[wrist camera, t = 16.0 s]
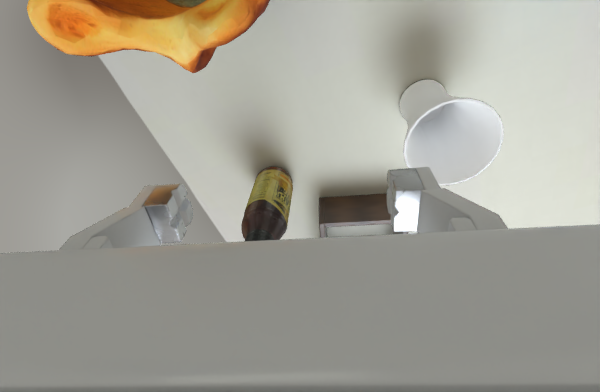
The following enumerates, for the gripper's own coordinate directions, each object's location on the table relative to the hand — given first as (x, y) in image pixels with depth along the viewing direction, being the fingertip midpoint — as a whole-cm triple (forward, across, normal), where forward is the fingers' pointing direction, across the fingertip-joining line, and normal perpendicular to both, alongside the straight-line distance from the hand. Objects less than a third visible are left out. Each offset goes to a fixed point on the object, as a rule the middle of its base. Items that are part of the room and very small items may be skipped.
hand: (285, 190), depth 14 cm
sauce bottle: (+37, +8, +22) cm, 44 cm away
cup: (+37, -15, +11) cm, 42 cm away
